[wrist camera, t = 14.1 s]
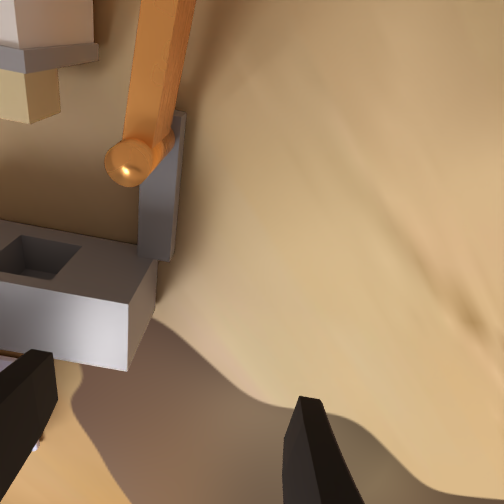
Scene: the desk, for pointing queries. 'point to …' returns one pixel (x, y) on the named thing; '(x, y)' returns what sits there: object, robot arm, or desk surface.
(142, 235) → the socket block
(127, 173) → the orange long bar
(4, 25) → the plug
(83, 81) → the desk surface
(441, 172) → the desk surface
